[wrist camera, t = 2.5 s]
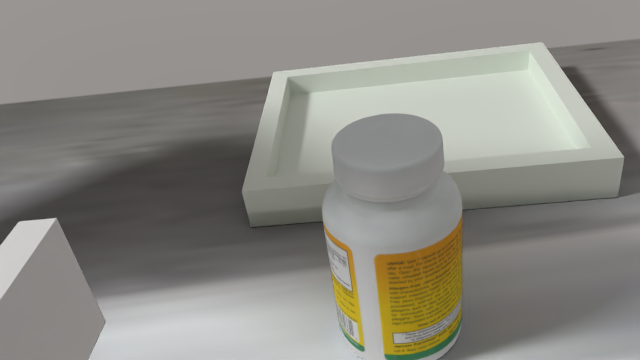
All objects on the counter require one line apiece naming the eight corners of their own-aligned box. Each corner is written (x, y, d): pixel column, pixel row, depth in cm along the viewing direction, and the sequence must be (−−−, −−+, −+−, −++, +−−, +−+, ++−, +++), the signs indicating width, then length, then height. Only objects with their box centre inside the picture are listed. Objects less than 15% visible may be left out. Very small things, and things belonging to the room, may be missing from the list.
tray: (250, 227, 34) (241, 191, 33) (279, 101, 48) (273, 72, 46) (617, 197, 32) (624, 157, 31) (540, 73, 45) (542, 42, 44)
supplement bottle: (319, 350, 26) (282, 165, 21) (371, 271, 30) (350, 97, 25) (438, 391, 24) (429, 193, 18) (479, 300, 27) (481, 112, 22)
